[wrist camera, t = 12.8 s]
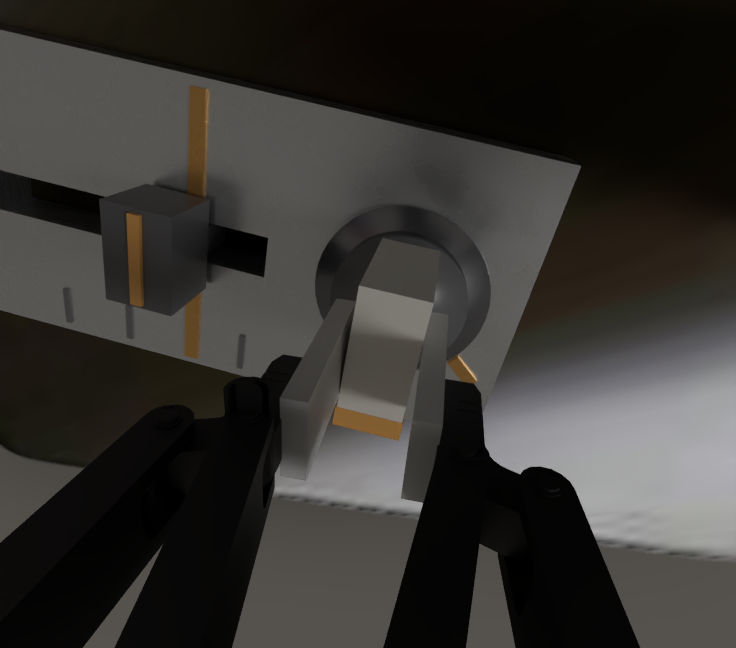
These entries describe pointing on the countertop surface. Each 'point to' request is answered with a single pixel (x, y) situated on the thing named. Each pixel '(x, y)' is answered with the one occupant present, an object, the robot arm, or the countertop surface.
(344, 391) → the dial
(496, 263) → the console
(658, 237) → the countertop surface
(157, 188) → the fader
